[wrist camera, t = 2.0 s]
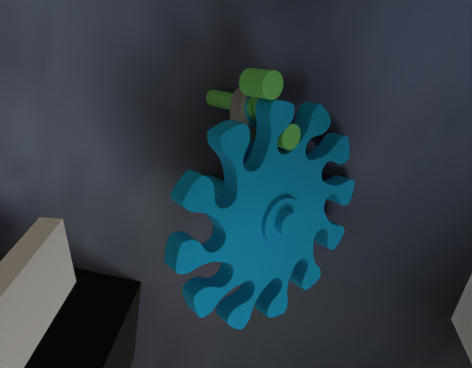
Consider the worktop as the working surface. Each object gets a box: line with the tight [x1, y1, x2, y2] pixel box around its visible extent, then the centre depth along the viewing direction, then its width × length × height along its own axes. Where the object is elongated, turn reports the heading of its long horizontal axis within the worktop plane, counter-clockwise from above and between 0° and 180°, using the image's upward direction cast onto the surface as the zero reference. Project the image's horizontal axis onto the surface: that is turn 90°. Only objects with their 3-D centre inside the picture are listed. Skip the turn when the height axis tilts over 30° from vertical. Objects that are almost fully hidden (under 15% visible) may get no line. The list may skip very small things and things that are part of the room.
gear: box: [165, 68, 355, 330], centre depth 18 cm, size 11×6×10 cm
